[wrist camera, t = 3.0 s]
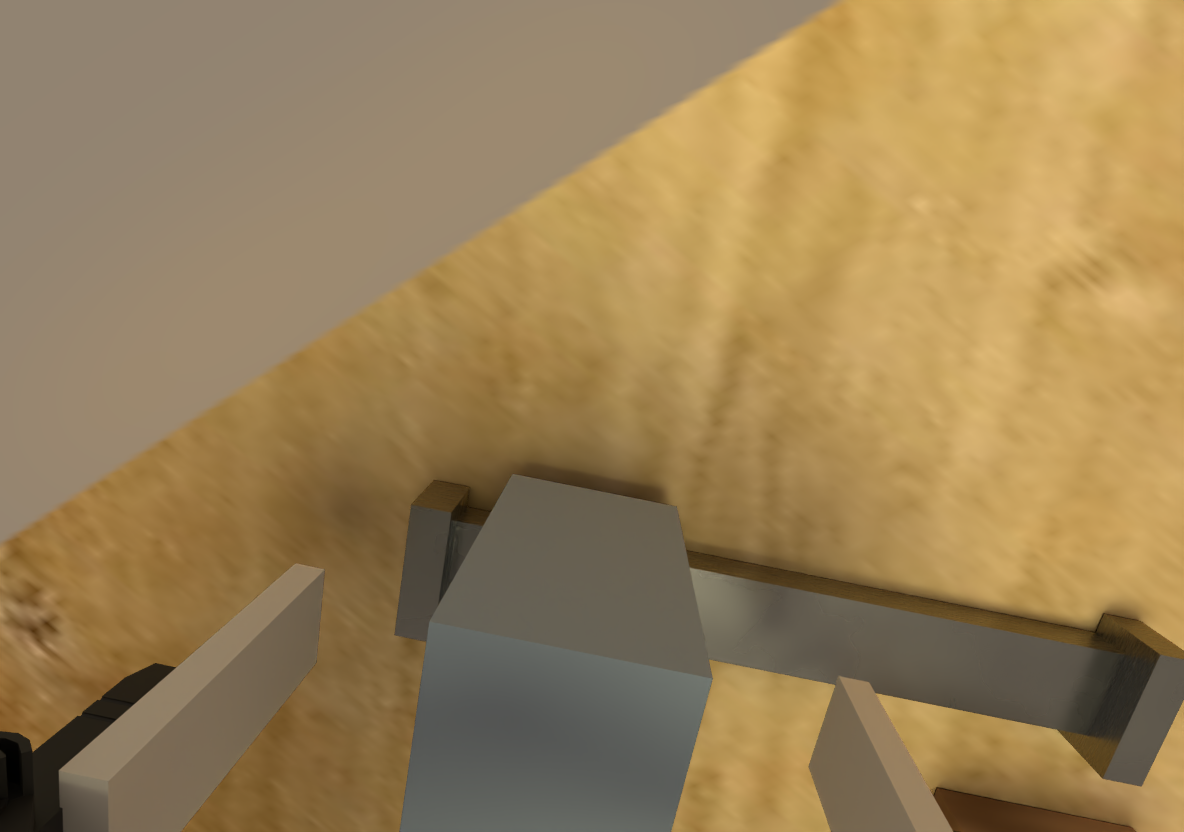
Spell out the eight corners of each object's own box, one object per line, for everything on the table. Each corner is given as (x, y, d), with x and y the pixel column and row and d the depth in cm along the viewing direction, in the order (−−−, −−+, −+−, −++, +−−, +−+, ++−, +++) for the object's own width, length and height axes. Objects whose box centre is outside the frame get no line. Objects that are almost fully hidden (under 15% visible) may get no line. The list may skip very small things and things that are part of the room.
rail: (417, 598, 21) (394, 635, 19) (434, 480, 20) (411, 504, 18) (1089, 734, 21) (1141, 786, 19) (1140, 621, 20) (1201, 663, 18)
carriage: (487, 651, 21) (386, 927, 12) (519, 461, 20) (429, 621, 11) (629, 680, 21) (631, 978, 12) (674, 492, 20) (712, 678, 11)
